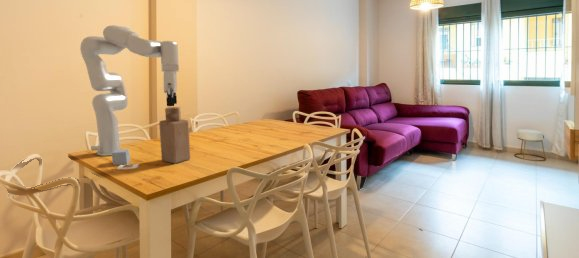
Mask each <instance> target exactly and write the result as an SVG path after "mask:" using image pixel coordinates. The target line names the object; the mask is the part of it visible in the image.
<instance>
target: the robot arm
mask: <svg viewBox="0 0 579 258" xmlns="http://www.w3.org/2000/svg"><path fill="white" fill-rule="evenodd" d="M102 35H103V36H95V35H94V36H93V35H92V36H91V35H90V36H86V37H85V38H83V39H82V40H81V43H80V46H79V47H80V49H79V50H80V54H81V57H82V59H83V61H84V64H85V66H86V71H87V74H88V79H89V82H90V85H91V88H92V89H93V90H94V91H97V92H107V91H108V93H99V94H97V95H95V96H93V98H92V102H91V104H92V108H93V111H94V113H95V119H96V120H95V121H96V127H97V135H98V145H96V146H95V145H91V147H90V150H92V151H96V156H99V157H102V156H103V157H104V156H105V157H107V156H108V157H109V156H112V152H113V151H115V150H121V149H122V148H121V142H120V133H119V124H118V123H119V122H118V118H117V116H116V114H115V113H114V111H115V112H116V111H122V110H125V109H126V108H127V107H128V104H129V101H128V100H129V99H128V96H127V95H128V94H127V92H126V87H125V83H124V80H123V78H122V76H121V75H120V74H118V73H116V72H108V70H107V66H106V64H105V62H104V60H103V58H101V56H100V55H111V56H112V55H118V54H120V53H121V52H122V51H123V50H125V49H127V50H128V51H129V52H131V53H133V54H135V55H138V56H142V57H145V58H146V57H147V58H160V62H161V63H160V64H161V72H163V93H164V94H166V107H175V105H177V104H178V103H177V102H178V101H177V99H178V98H177V92H178V82H177V81H178V80H177V77H178V76H177V72H178V73H179V72H180V71H179V70H180V69H179V68H180V67H179V47H178V43H177V42H176V41H172V40H164V41H161V40H151V39H144V38H141V37H139V34H138V33H137V32H135V31H133V30H132V29H131V28H128V27H126V26H119V25H107V26H105V28H103V31H102Z"/></svg>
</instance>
